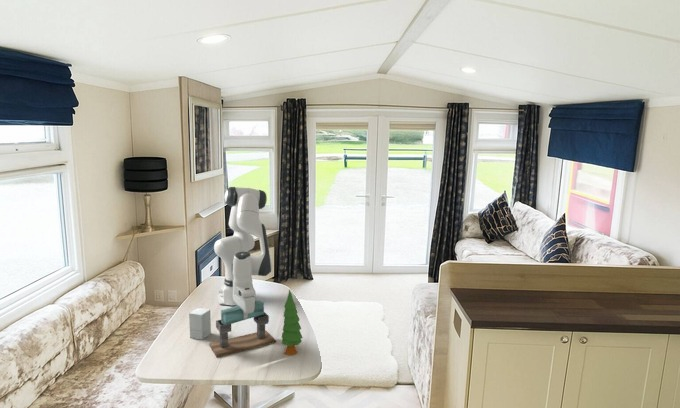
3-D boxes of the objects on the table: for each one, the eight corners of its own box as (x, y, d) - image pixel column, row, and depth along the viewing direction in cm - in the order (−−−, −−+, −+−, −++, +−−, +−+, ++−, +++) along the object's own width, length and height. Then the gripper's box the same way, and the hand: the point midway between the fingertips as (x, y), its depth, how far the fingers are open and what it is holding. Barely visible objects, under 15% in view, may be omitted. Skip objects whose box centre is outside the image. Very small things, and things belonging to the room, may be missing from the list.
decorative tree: (282, 347, 193) (282, 285, 189) (302, 346, 194) (303, 285, 190) (281, 357, 184) (281, 293, 180) (302, 357, 185) (303, 292, 181)
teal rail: (221, 322, 188) (221, 310, 187) (259, 311, 202) (259, 299, 201) (225, 325, 185) (225, 312, 184) (263, 314, 199) (263, 302, 198)
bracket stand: (209, 346, 193) (208, 319, 191) (266, 333, 208) (266, 308, 206) (216, 357, 183) (216, 329, 181) (275, 343, 198) (275, 317, 196)
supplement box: (211, 333, 206) (211, 309, 204) (202, 340, 199) (201, 315, 197) (198, 331, 208) (198, 307, 206) (189, 337, 201) (188, 312, 199)
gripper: (229, 282, 198) (229, 309, 200) (243, 295, 181) (243, 325, 183) (241, 280, 202) (242, 307, 204) (257, 292, 185) (257, 322, 186)
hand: (243, 316), depth 193 cm, fingers closed on teal rail, 4 cm apart
